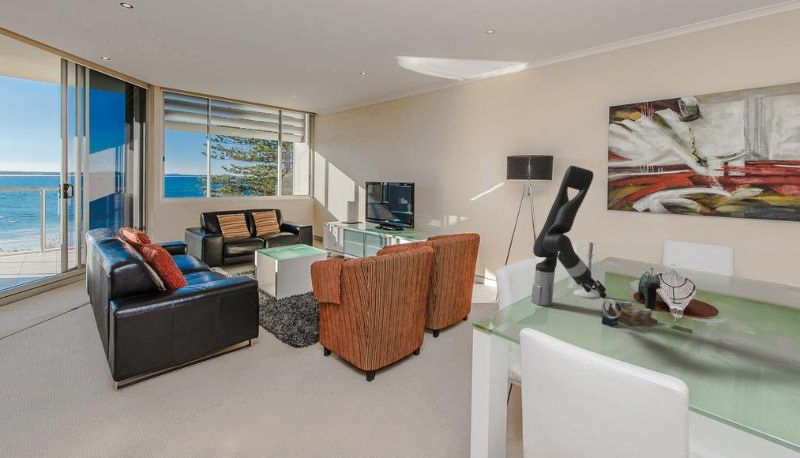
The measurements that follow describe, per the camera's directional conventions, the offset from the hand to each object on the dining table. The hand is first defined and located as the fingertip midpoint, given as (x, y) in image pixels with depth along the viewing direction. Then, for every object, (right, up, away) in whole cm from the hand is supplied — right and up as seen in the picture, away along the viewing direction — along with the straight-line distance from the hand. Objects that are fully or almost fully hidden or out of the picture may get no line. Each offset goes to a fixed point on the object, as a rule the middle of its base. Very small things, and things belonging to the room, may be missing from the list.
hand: (596, 293), depth 163 cm
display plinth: (+22, -13, +13) cm, 28 cm away
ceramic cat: (+42, -11, +32) cm, 54 cm away
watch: (+8, -14, +5) cm, 17 cm away
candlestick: (+18, -9, +46) cm, 50 cm away
